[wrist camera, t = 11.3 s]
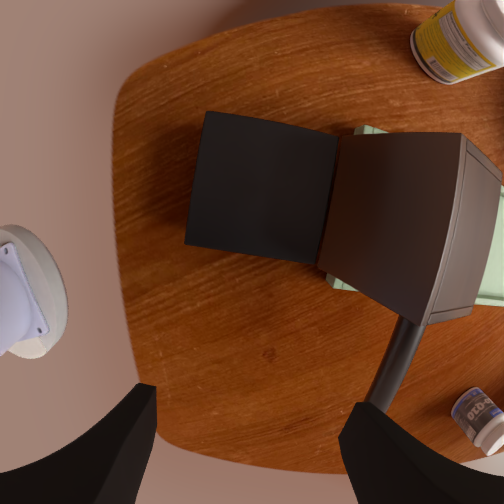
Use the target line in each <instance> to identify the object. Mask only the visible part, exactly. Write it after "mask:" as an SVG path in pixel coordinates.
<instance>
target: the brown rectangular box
mask: <svg viewBox="0 0 504 504" xmlns="http://www.w3.org/2000/svg"><path fill="white" fill-rule="evenodd" d="M501 182H502V172H501V171H500V170H499V169H498V168H497V167H496V166H495V165H494V164H493V163H492V161H491V160H490V159H489V158H488V157H487V156H486V155H485V154H483V153H482V152H481V151H480V150H479V149H478V148H477V147H476V146H475V145H474V144H473V143H472V142H471V141H470V140H469V139H467V138H466V137H465V136H464V135H463V134H462V133H447V132H401V133H375V134H358V135H344V136H342V142H341V148H340V154H339V161H338V166H337V172H336V178H335V184H334V189H333V195H332V200H331V205H330V210H329V215H328V220H327V225H326V230H325V235H324V239H323V244H322V248H321V253H320V257H319V262H318V266H317V267H318V268H320V269H321V270H323V271H325V272H327V273H328V274H330V275H332V276H334V277H335V278H337V279H339V280H340V281H342V282H344V283H346V284H347V285H349V286H351V287H353V288H354V289H356V290H358V291H360V292H361V293H363V294H365V295H366V296H368V297H370V298H372V299H373V300H375V301H377V302H378V303H380V304H382V305H383V306H385V307H387V308H389V309H390V310H392V311H394V312H395V313H397V314H399V317H398V320H397V322H396V325H395V328H394V331H393V333H392V336H391V339H390V341H389V344H388V346H387V349H386V352H385V354H384V356H383V359H382V361H381V364H380V366H379V368H378V371H377V373H376V375H375V378H374V380H373V382H372V384H371V386H370V388H369V391H368V393H367V395H366V397H365V399H364V401H363V402H371V403H372V404H373V405H375V406H376V407H377V408H378V409H380V410H381V411H382V412H383V413H386V412H387V410H388V408H389V406H390V405H391V403H392V401H393V399H394V397H395V395H396V393H397V391H398V389H399V387H400V385H401V383H402V381H403V379H404V377H405V375H406V373H407V371H408V368H409V366H410V364H411V362H412V360H413V357H414V355H415V353H416V350H417V348H418V346H419V343H420V341H421V338H422V336H423V333H424V331H425V328H426V325H431V324H435V323H440V322H444V321H448V320H452V319H456V318H460V317H464V316H468V315H470V314H471V312H472V309H473V305H474V304H475V301H476V298H477V295H478V292H479V288H480V285H481V282H482V279H483V275H484V272H485V268H486V264H487V260H488V256H489V252H490V248H491V244H492V239H493V235H494V230H495V224H496V219H497V213H498V207H499V200H500V193H501V184H502V183H501Z"/></svg>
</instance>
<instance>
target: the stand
mask: <svg viewBox="0 0 504 504" xmlns="http://www.w3.org/2000/svg"><path fill="white" fill-rule="evenodd" d="M338 142H339V137H338V136H334V135H331V134H327V133H323V132H319V131H315V130H311V129H307V128H303V127H298V126H294V125H289V124H285V123H280V122H275V121H270V120H264V119H259V118H253V117H248V116H241V115H235V114H228V113H221V112H214V111H206V114H205V118H204V123H203V128H202V134H201V139H200V144H199V150H198V155H197V161H196V167H195V173H194V179H193V185H192V191H191V198H190V204H189V211H188V218H187V226H186V233H185V241H184V243H185V244H186V245H191V246H197V247H204V248H210V249H216V250H223V251H229V252H236V253H242V254H248V255H255V256H261V257H268V258H274V259H281V260H287V261H294V262H300V263H307V264H315V262H316V258H317V253H318V249H319V244H320V239H321V235H322V230H323V225H324V220H325V215H326V210H327V205H328V200H329V195H330V189H331V184H332V178H333V172H334V167H335V161H336V155H337V148H338Z"/></svg>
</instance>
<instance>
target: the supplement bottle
mask: <svg viewBox="0 0 504 504" xmlns="http://www.w3.org/2000/svg"><path fill="white" fill-rule="evenodd" d="M410 44H411V49H412V52H413V54H414V57H415V59H416V60H417V62H418V64H419V65H420V66H421V68H422V69H423V70H424V71H425V72H426V73H427V74H428V75H429V76H430V77H432V78H433V79H434V80H436V81H438V82H440V83H443V84H454V83H458V82H461V81H463V80H466V79H469V78H472V77H474V76H477V75H480V74H483V73H486V72H489V71H492V70H495V69H498V68H501V67H504V0H454V1H452V2H451V3H449V4H448V5H447V6H445V7H444V8H442V9H441V10H439V11H438V12H437V13H435V14H434V15H433V16H431V17H430V18H429V19H427V20H426V21H424V22H423V23H422V24H420V25H419V26H418V27H417V28H415V29H414V30H413V32H412V34H411V37H410Z"/></svg>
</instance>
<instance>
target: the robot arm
mask: <svg viewBox="0 0 504 504" xmlns="http://www.w3.org/2000/svg"><path fill="white" fill-rule="evenodd" d="M7 250H8V252H7ZM40 329H41V330H40ZM49 331H50V330H49V326H48V324H47V322H46V320H45V318H44V316H43V314H42V312H41V310H40V308H39V305H38V303H37V301H36V299H35V297H34V294H33V292H32V290H31V287H30V285H29V282H28V280H27V277H26V275H25V272H24V270H23V267H22V264H21V262H20V259H19V256H18V253H17V250H16V247H15V245H14V243H12V242H9V243H7V244H5V245H4V246H2V247H1V248H0V356H2V355H3V354H4V353H5V352H6V351H7V350H8V349H9V348H10V347H11V346H13V345H14V344H15V343H16V342H20V341H23V340H27V339H31V338H35V337H39V336H42V335H46V334H47V333H49ZM156 428H157V406H156V386H152V385H147V384H143V383H138V384H136V385H135V386H134V388H133V389H132V390H131V391H130V392H129V393H128V394H127V395H126V396H125V397H124V398H123V399H122V401H120V402H119V404H117V405H116V406H115V407H114V408H113V409H112V410H111V411H110V412H109V413H108V414H107V415H106V416H105V417H104V418H102V419H101V420H100V421H99V422H98V423H96V424H95V425H94V426H93V427H92V428H90V429H89V430H88V431H87V432H85V433H84V434H83V435H81V436H80V437H78V438H77V439H76V440H74V441H73V442H71V443H70V444H68V445H66V446H65V447H63V448H61V449H60V450H58V451H56V452H54V453H52V454H51V455H49V456H47V457H45V458H43V459H40V460H38V461H36V462H33V463H30V464H28V465H25V466H23V467H20V468H17V469H14V470H11V471H7V472H3V473H0V504H135V501H136V496H137V493H138V490H139V487H140V484H141V481H142V478H143V475H144V472H145V469H146V466H147V463H148V460H149V457H150V453H151V451H152V447H153V442H154V438H155V433H156ZM338 439H339V445H340V450H341V455H342V459H343V462H344V465H345V468H346V471H347V473H348V476H349V479H350V481H351V484H352V487H353V490H354V492H355V495H356V497H357V501H358V504H504V477H503V476H496V475H491V474H488V473H484V472H480V471H477V470H474V469H470V468H468V467H466V466H463V465H461V464H458V463H456V462H454V461H452V460H450V459H448V458H446V457H444V456H442V455H440V454H438V453H437V452H435V451H433V450H432V449H430V448H429V447H427V446H426V445H424V444H423V443H421V442H420V441H418V440H417V439H416V438H414V437H413V436H412V435H410V434H409V433H408V432H407V431H405V430H404V429H403V428H402V427H400V426H399V425H398V424H397V423H395V422H394V421H393V420H392V419H391V418H389V417H388V416H387V415H386V414H385V413H383V412H382V411H381V410H380V409H378V408H377V407H376V406H375V405H373V404H372V403H371V402H357V403H356V404H355V406H354V408H353V410H352V412H351V414H350V416H349V418H348V420H347V422H346V424H345V426H344V428H343V429H342V431H341V433H340V435H339V437H338Z"/></svg>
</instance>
